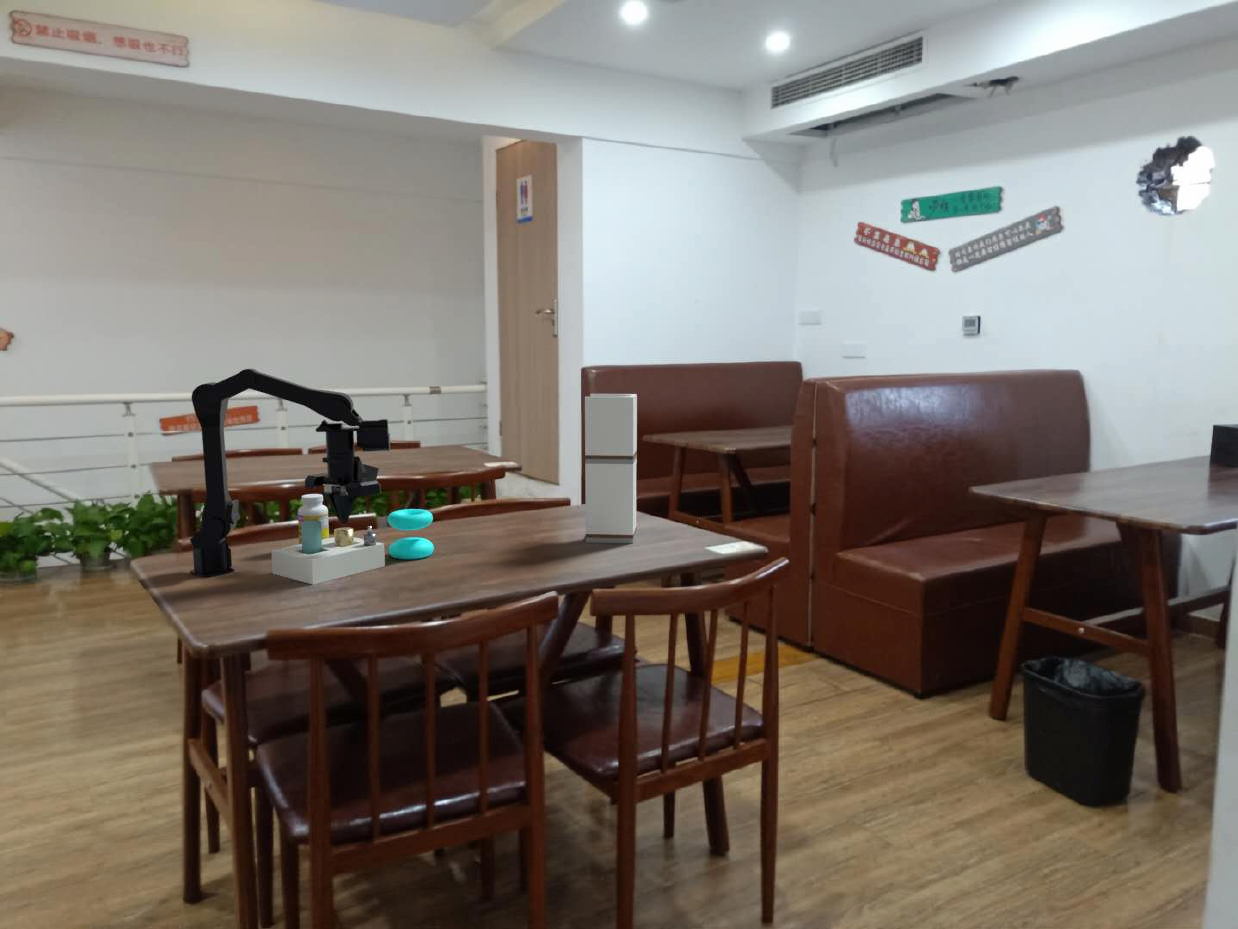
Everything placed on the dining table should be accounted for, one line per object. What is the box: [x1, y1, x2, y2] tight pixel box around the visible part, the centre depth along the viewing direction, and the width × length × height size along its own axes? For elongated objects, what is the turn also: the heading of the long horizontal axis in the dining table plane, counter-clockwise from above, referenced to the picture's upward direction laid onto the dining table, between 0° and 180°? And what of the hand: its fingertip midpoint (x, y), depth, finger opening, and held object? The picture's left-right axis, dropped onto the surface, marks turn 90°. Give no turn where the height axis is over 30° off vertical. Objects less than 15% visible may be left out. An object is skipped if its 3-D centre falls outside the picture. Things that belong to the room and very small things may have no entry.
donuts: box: [387, 508, 435, 560], centre depth 206 cm, size 10×10×10 cm
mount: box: [271, 536, 386, 586], centre depth 193 cm, size 18×14×5 cm
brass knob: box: [333, 526, 355, 547], centre depth 196 cm, size 4×4×7 cm
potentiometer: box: [363, 525, 377, 546], centre depth 194 cm, size 3×3×4 cm
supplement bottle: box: [297, 493, 330, 545], centre depth 210 cm, size 7×7×13 cm
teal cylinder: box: [301, 520, 322, 555], centre depth 189 cm, size 4×4×7 cm
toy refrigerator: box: [584, 393, 638, 544], centre depth 221 cm, size 11×11×35 cm
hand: (343, 524), depth 195 cm, fingers closed
